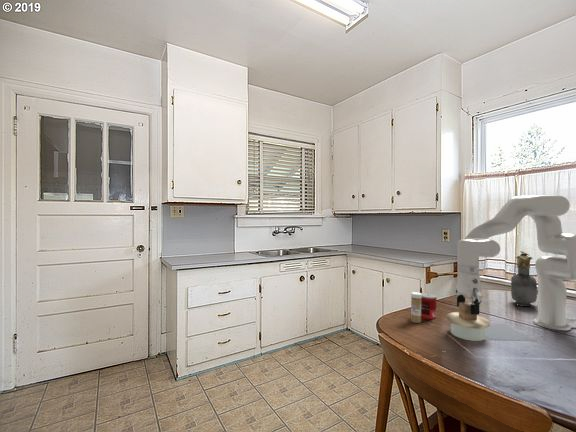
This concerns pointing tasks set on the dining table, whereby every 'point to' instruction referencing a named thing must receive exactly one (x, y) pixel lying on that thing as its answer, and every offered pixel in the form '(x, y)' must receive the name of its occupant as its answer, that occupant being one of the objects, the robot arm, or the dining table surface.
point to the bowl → (468, 332)
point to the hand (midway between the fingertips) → (467, 310)
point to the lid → (467, 318)
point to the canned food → (428, 306)
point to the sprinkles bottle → (416, 307)
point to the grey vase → (523, 282)
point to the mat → (505, 333)
